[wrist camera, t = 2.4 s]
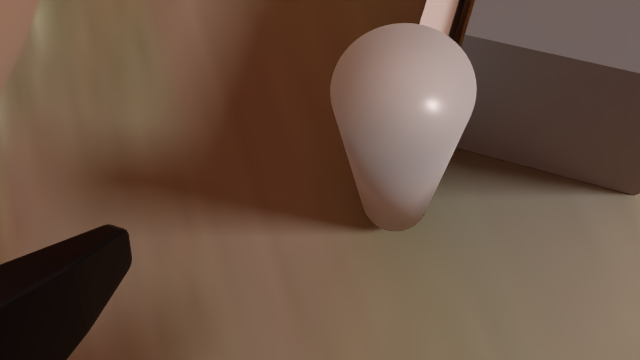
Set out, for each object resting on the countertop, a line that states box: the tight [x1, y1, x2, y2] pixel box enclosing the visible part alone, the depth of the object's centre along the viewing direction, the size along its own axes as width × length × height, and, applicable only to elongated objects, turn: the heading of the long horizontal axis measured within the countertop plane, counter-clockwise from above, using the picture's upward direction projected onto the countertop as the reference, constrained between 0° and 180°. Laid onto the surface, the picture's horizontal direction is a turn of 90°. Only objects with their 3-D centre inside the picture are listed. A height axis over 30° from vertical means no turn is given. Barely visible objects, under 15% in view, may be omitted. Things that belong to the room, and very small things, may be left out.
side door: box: [330, 0, 477, 231], centre depth 15 cm, size 12×3×11 cm, turn 162°
